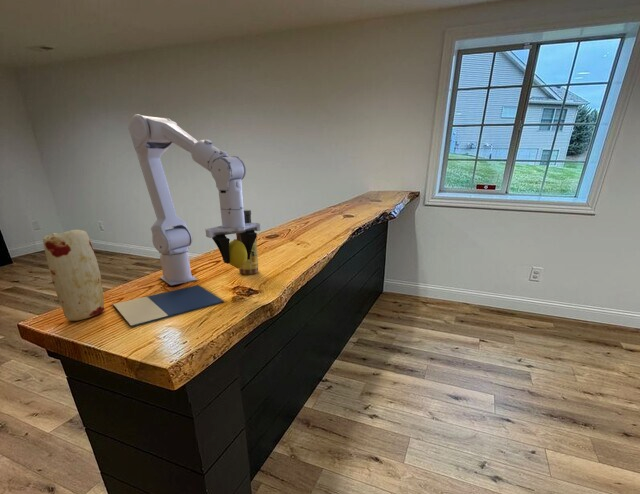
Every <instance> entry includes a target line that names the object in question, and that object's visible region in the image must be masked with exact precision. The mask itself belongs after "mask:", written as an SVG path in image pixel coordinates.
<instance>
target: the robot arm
mask: <svg viewBox="0 0 640 494" xmlns="http://www.w3.org/2000/svg"><path fill="white" fill-rule="evenodd" d="M128 132H129V135H130V138H131V141H132V144H133V147H134V151H135V153H136V156H137V159H138V162H139V166H140V169H141V172H142V175H143V179H144V182H145V186H146V188H147V191H148V195H149V198H150V202H151V204H152V208H153V212H154V214H155V218H156V220H155V222H154V223H153V224H152V225H151V227H150V231H151V234H152V235H151V241H152V244H153V247H154V248H155V249H156V251H157V252H158V253H159V254H160V256H159V260H160V261H159V262H160V266H161V273H162V275H161V276H160V277H159V279H160V280H162V281H163V282H165V283H167V284H168V285H169V286H175V285H181V284H185V283H190V282H195V281H197V280H198V278H197V277H195V276H194V275H192V270H191V269H192V268H191V261H190V256H189V251H190V249H191V248H190V247H191V245H192V244H193V236H192V233H191V231H190V229H189V228H188V226H187V221H185V220H183V219H182V218H181V217H179V216H178V215H177V211H176V208H175V204H174V201H173V198H172V195H171V191H170V187H169V183H168V180H167V177H166V173H165V170H164V167H163V163H162V160H161V157H162V155H163V154H165V153H166V152H167V151H168V150H169V148H170V147H171V146H172V145H173V144H174V145H176V146H178V147H180V148H181V149H183V150H185V151H187V152H188V153H189V154H190V155H191V158H192V161H194V162H195V163H196V164H198V165H199V166H201V167H202V168H204V169H205V170H207V171H208V172H210V174H211V177H212V179H213V180H214V181H215V187H216V188H217V190H218V199H219V208H220V210H219V211H220V218H221V225H219V226H214V227H210V228H209V227H208V228H204V230H205V237H207V238H209V239H211V240H213V242H214V243H215V245H216V246H217V249H218V251H219V252H220V255H221V258H222V260H223V263H224V264H227V265H228V264H229V263H230V257H229V243H230V242H231V240H230V238H228V237H227V236H229V235H236V233H240V236H241V240H242V243H243V244H244V245H245V247H246V250H247V260H249V259H250V255H251V250H252V246H253V244H254V241H255V239H257V238H258V237H257V236H258V232H260V231H261V224H260V222H251V223H245V219H244V209H245V207H244V194H243V182H242V181H243V180H244V178H245V177H246V174H247V173H246V172H247V171H246V170H247V169H246V165H245V163H244V161H243V160H242V159H241V158H240V157H239V156H236V155H232V156H229V154H228V152H227V151H226V150H222V149H219V148H218V147H216V146H215V145H213V143H214V142H213V141H212V140H210V139H200V140H198V139H196V138H195V137H193V136H192V135H191V134H189V133H188V132H187V131H185V130H184V129H183V128H181V127H180V126H179V125H178V123H177V122H176V121H174V120H172V119H171V118H168V117H159V116H150V115H142V114H139V113H138V114H134V115H132V117H131V119H130V122H129V125H128ZM168 228H169V229H168ZM254 231H255V232H254ZM229 265H230V264H229Z"/></svg>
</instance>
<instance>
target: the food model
mask: <svg viewBox="0 0 640 494" xmlns="http://www.w3.org/2000/svg"><path fill="white" fill-rule="evenodd" d="M42 243H43V248H44V253H45V258H46V262H47V266H48V270H49V274H50V278H51V281H52V284H53V286H54V290H55V294H56V296H57V299H58V301H59V303H60V307H61V309H62V312H63V315H64V317H65V319H66V321H69V322H71V321H75V322H77V321H82V320H86V319H88V318H91V317H94V316H97V315H99V314H101V313H103V312H104V311H105V300H104V299H105V298H104V290H103V289H104V288H103V281H102V276H101V271H100V267H99V263H98V260H97V256H96V253H95V251H94V247H93V245H92V242H91V238H90V237H89V234H88V233H87V231H86V230H82V229H72V230H67V231H64V232H63V231H62V232H60V233H57V232H52V233H50V234H48V235H46V236H44V237H43V239H42Z"/></svg>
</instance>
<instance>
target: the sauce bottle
mask: <svg viewBox="0 0 640 494" xmlns="http://www.w3.org/2000/svg"><path fill="white" fill-rule="evenodd" d="M244 219H245V223H252V210H251V209H247V208H246V209H245V208H244ZM254 232H255V233H256V231H254ZM235 237H236V239H237V240H238V241H240V242H242V240H241V236H240V233H236V234H235ZM238 270H239V273H240V275H247V276H248V275H255V274H257V273H258V272H259V256H258V242H257V238H256V239H255V241H254V244H253V246H252V250H251V255H250V259H249V260H246V262H245V264H244V265H242V266H241V267H240V268H239V269H238Z"/></svg>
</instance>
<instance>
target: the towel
mask: <svg viewBox="0 0 640 494" xmlns="http://www.w3.org/2000/svg"><path fill="white" fill-rule="evenodd" d="M223 303H225V302H224V300H223V299H221V298H220V297H218V296H217V295H215V294H213V293H211V292H210V291H209V290H207V289H205V288H203V287H202V286H200V285H199V284H197V285H193V286H188V287H183V288H178V289H174V290H170V291H166V292H161V293H157V294H152V295H149V296H142V297H138V298H133V299H129V300H125V301H119V302H116V303H112V304H113V307H114V308H115V309H116V310H117V312H118V313H119V314H120V315H121V317H122V318H123V319H124V320H125V321H126V323H127V324H128V325H129V326H130V328H133V327H138V326H141V325H144V324H149V323H152V322H155V321H160V320H163V319H167V318H170V317H174V316H179V315H181V314H185V313H189V312H192V311H196V310H200V309H203V308H208V307H212V306H215V305H219V304H223Z"/></svg>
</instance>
